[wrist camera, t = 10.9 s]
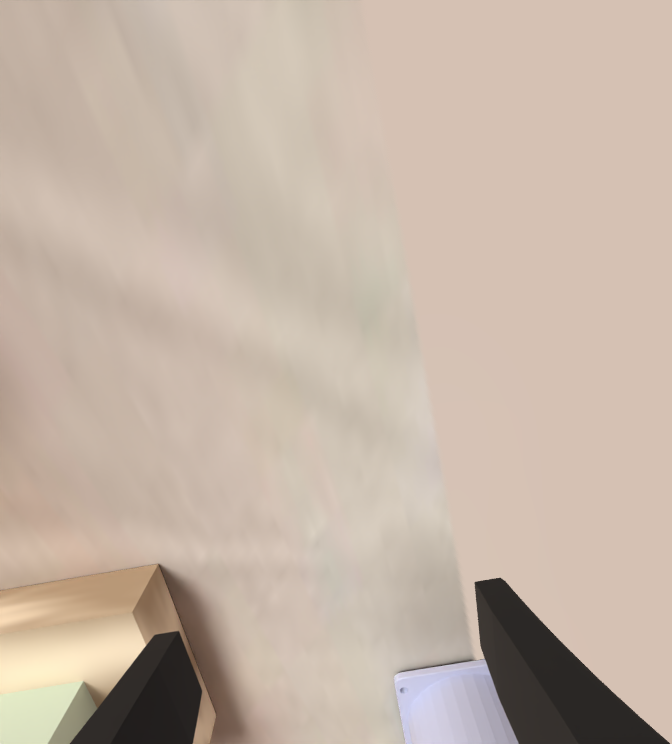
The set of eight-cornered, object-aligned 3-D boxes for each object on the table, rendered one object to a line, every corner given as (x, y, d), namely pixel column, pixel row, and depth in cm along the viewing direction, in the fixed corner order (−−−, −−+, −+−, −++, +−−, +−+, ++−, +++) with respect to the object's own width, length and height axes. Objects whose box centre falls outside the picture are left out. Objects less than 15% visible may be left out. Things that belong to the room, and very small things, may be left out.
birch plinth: (216, 715, 24) (202, 776, 22) (34, 744, 25) (-4, 808, 22) (158, 563, 21) (131, 612, 18) (-53, 599, 21) (-111, 652, 18)
